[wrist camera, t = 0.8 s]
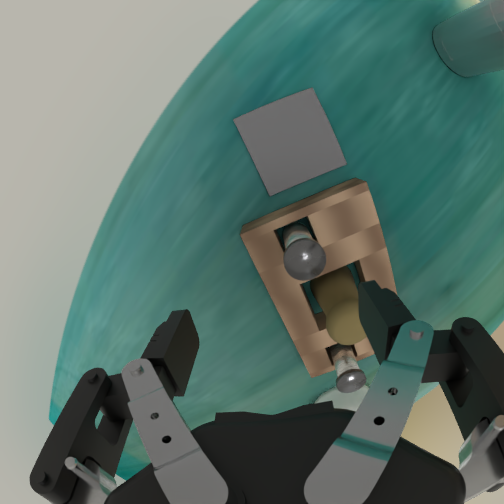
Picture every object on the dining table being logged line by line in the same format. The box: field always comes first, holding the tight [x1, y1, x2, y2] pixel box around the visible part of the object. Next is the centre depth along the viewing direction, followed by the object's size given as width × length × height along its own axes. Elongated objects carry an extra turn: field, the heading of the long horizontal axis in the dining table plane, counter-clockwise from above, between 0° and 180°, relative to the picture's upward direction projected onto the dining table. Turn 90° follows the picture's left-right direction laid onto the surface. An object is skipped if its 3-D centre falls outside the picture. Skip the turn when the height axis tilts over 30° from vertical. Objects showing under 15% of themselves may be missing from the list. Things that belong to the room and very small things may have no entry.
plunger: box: [283, 222, 326, 281], centre depth 28 cm, size 4×4×8 cm
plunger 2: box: [329, 343, 366, 393], centre depth 33 cm, size 4×4×8 cm
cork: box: [310, 266, 367, 345], centre depth 31 cm, size 6×6×11 cm
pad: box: [233, 88, 347, 196], centre depth 29 cm, size 10×10×1 cm
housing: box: [240, 178, 397, 378], centre depth 34 cm, size 15×24×4 cm, turn 25°
